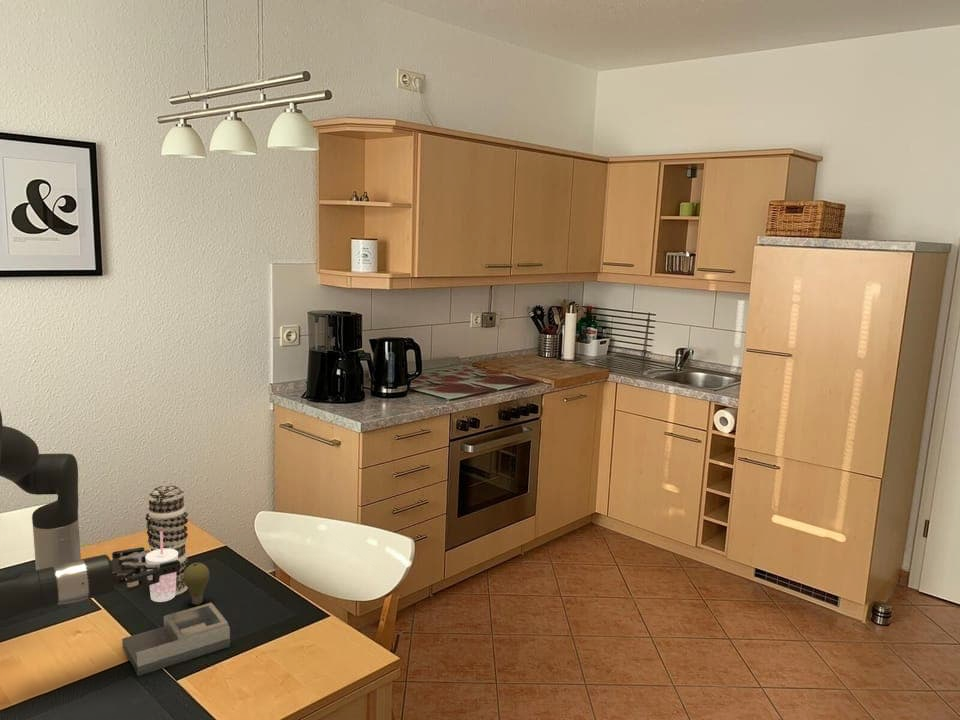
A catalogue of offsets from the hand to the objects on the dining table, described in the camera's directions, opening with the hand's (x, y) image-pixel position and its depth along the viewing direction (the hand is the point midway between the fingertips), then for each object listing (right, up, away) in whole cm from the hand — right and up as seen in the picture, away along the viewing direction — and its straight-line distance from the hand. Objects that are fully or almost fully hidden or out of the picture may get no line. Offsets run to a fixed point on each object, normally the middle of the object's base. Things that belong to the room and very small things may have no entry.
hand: (174, 558), depth 151 cm
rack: (-1, -19, +4) cm, 20 cm away
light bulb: (-3, -16, +21) cm, 26 cm away
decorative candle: (-12, -15, +27) cm, 33 cm away
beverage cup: (-2, -8, 0) cm, 8 cm away
